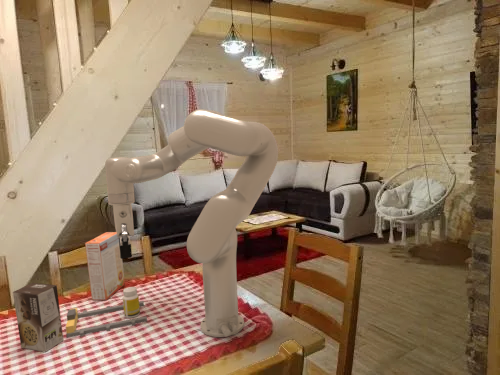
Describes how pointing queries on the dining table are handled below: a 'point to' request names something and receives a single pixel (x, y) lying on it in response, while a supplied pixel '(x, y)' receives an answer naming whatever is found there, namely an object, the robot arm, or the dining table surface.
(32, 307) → the coffee box
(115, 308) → the gray parallel rail frame
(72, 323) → the long yellow crossbar
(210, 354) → the dining table surface
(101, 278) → the cracker box
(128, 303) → the supplement bottle
